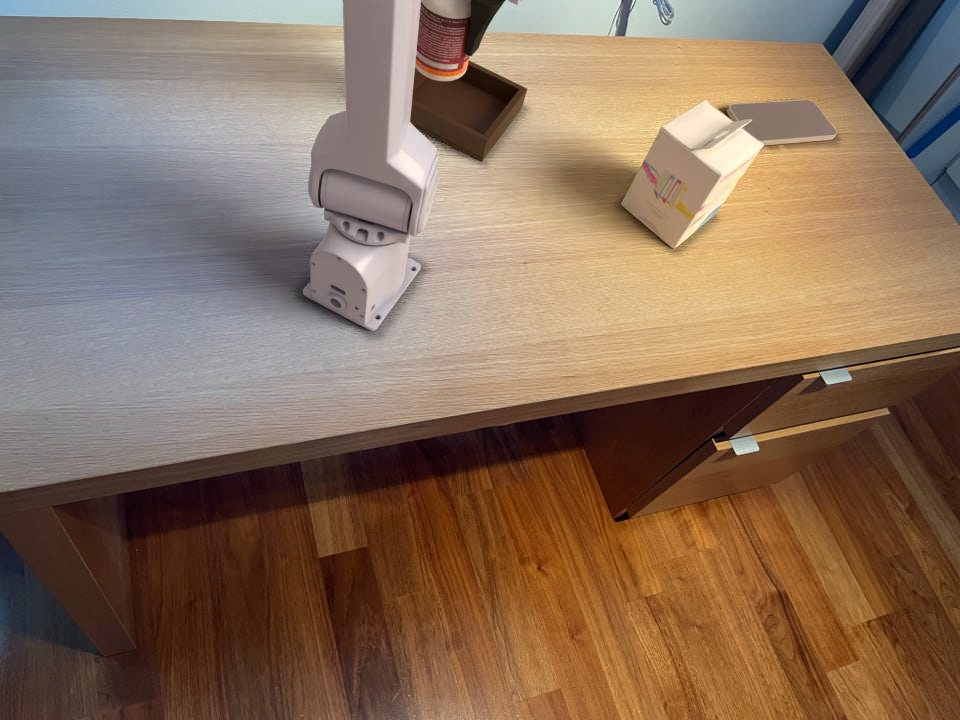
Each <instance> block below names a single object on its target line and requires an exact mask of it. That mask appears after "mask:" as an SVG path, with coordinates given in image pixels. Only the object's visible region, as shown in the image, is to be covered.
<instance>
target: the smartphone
mask: <svg viewBox="0 0 960 720" xmlns="http://www.w3.org/2000/svg"><path fill="white" fill-rule="evenodd" d="M726 113H727V115H728V118H729V119H731V120H732V121H733V122H735V121H741V120H746V119H752V121H751V122H749V123H748V124H747V125H745V126H744V127H742V129H744V130H745V131H746V132H748V133H749V134H750V135H752V136H753V137H755V138H756V139H757V140H759V141H760V142H761V143H763V144H764V146H772V145H773V146H774V145H785V144H797V143H798V144H799V143H809V142H820V141H832V140H834V138H835V137H836V136H837V134H838V131H837V129H836V127H835V126H834V125H833V124H832V122H831V121H830V120H829V118H827V116H826V114H824V112H823V111H822V110H821V108H820V107H819V106H818V105H817V104H816V102H815V101H813V100H811V99H793V100H791V99H790V100H775V101H773V100H772V101H761V102H760V101H759V102H758V101H757V102H741V103H740V102H739V103H731V104H730V105H729V107H728V108H727V109H726Z"/></svg>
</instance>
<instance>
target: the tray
mask: <svg viewBox="0 0 960 720" xmlns="http://www.w3.org/2000/svg"><path fill="white" fill-rule="evenodd" d="M527 92H528V88H527V87H525V86H523V85H521V84H519V83H517V82H514V81H512V80H510V79H509V78H506V77H504V76H502V75H500V74H498V73H497V72H494V71H492V70H490V69H488V68H486V67H484V66H482V65H481V64H480V65H479V64H478V63H475V62H473V61H471V60H469V62H468V66H467V70H466V72H465V73H464V75H463V76H462V77H460V78H458V79H456V80H453V81H437V80H433V79H430V78H428V77H426V76H424V75H423V74H422V73H420V72H419V71H418V70H417V68H416V67H415V73H414V84H413V95H412V106H411V117H410V122H411V124H412V125H413V126H414V127H415V128H416V129H417V130H418V131H419V132H421V133H424V134H425V135H427V136H430V137H431V138H433V139H436V140H438V141H440V142H442V143H444V144H446V145H448V146H450V147H452V148H454V149H456V150H458V151H460V152H462V153H464V154H466V155H468V156H470V157H471V158H474V159H476V160H478V161H480V162H483V161H484V160H485V158H486V157H487V156H488V154H489V153H490V152H491V151H492V149H493V148H494V146H495V145H496V143H497V142H498V141H499V140H500V138H501V137H502V136H503V135H504V133H505V131H506V130H507V129H508V128H509V126H510V125H511V124H512V123H513V121H514V120H515V118H516V117H517V116H518V115H519V113H520V112H521V110H522V109H523V105H524V103H525V99H526V95H527Z"/></svg>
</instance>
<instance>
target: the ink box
mask: <svg viewBox="0 0 960 720" xmlns="http://www.w3.org/2000/svg"><path fill="white" fill-rule="evenodd" d="M751 121H752V119H746V120H741V121H735V122H733V121H732V120H731V118H730V117H729V116H727V115H726V114H725V113H723V112H722V111H721V110H719V109H718V108H717V107H715V105H713V104H711V102H709V101H708V100H707V99H704V100H702V101H700V102H699V103H697V104H695V105H694V106H692V107H690V108H689V109H687V110H686V111H684V112H682V113H681V114H679V115H678V116H676V117H675V118H673V119H671V120H669V121H668V122H666V123H665V124H663V125H661V127H660V128H659V130H658V133H657V134H656V136H655V138H654V140H653V142H652V144H651V146H650V148H649V150H648V152H647V154H646V156H645V158H644V159H643V161H642V163H641V165H640V167H639V169H638V171H637V173H636V175H635V176H634V178H633V180H632V183H631V184H630V186H629V187H628V189H627V191H626V194H625V195H624V198H623V199H622V201H621V202H620V203H621V206H622V207H623V208H624V209H625V210H626V211H628V213H630V215H632V216H633V217H635V218H636V219H637V220H638V221H639V222H641V224H643V225H644V226H645V227H646V228H648V229H649V230H650V231H651V232H652V233H654V234H655V235H656V236H657V237H658V238H660V239H661V240H662V241H663V242H664V243H666V244H667V245H668V246H669V247H670V248H671V249H676V248H678V247H679V246H680V245H681V244H682V243H684V241H686V240H687V239H688V238H690V237H691V236H692V235H693V234H694V233H696V232H697V231H698V230H699V229H700V228H702V226H703V225H705V224H706V223H707V222H709V221H710V220H711V219H712V218H713V217H714V216H715V215H717V212H719V210H720V209H721V207H722V206H723V203H725V201H726V200H727V199H728V197H729V196H730V194H731V192H732V191H733V190H734V188H735V187H736V185H737V184H738V183H739V181H740V179H742V177H743V176H744V174H745V172H746V171H747V169H748V168H749V167H750V165H751V164H752V163H753V161H754V159H756V157H757V155H758V154H759V153H760V151H761V150H762V148H763V147H764V146H765V145H764V144H763V143H761V142H760V141H759V140H757V139H756V138H755V137H753V136H752V135H750V134H749V133H748V132H746V131H745V130H744V129H742V127H744V126H745V125H747V124H748V123H749V122H751Z"/></svg>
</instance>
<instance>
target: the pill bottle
mask: <svg viewBox="0 0 960 720" xmlns="http://www.w3.org/2000/svg"><path fill="white" fill-rule="evenodd" d="M470 22H471V0H421V7H420V18H419V29H418V40H417V51H416V62H415V67H416V68H417V70H418V71H419V72H420V73H422V74H423V75H424V76H426V77H428V78H430V79H433V80H437V81H453V80H456V79H458V78H460V77H462V76H463V75H464V73H465V72H466V70H467V66H468V62H469V61H470V57H471V56H468V55H466V54H465V48H466V43H467V38H468V34H469V30H470Z"/></svg>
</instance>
